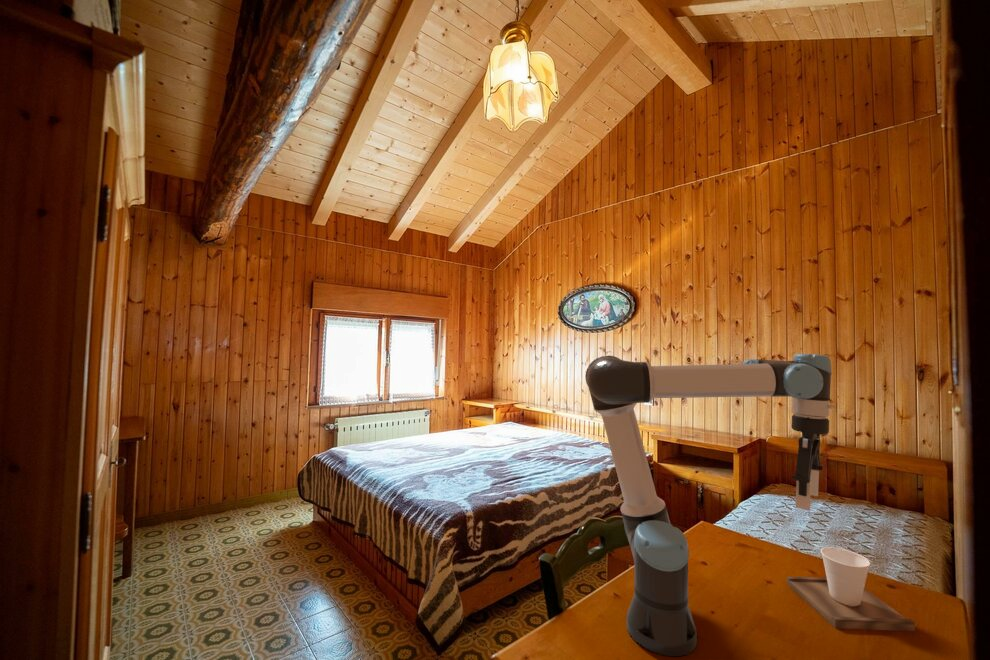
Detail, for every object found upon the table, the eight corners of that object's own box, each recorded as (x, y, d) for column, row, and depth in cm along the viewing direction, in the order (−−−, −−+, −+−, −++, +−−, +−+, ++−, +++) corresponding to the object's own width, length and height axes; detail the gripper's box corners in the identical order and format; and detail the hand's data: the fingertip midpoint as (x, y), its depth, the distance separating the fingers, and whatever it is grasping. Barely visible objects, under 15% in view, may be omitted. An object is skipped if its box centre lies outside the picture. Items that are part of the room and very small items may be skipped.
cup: (880, 614, 103) (880, 569, 104) (833, 609, 106) (833, 564, 106) (855, 591, 113) (855, 549, 113) (812, 586, 115) (813, 545, 115)
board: (835, 628, 101) (835, 619, 101) (786, 584, 119) (786, 576, 119) (914, 631, 100) (914, 622, 100) (853, 586, 118) (853, 578, 118)
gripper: (822, 424, 94) (819, 520, 94) (835, 413, 113) (832, 493, 112) (782, 419, 100) (778, 509, 99) (800, 408, 118) (797, 485, 117)
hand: (807, 501), depth 106 cm, fingers open, 13 cm apart
